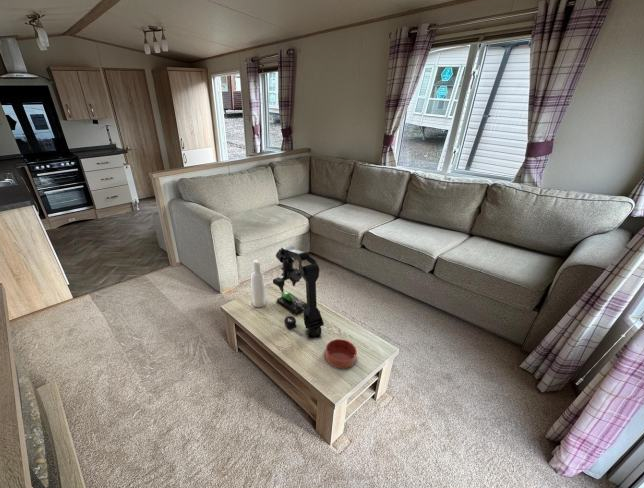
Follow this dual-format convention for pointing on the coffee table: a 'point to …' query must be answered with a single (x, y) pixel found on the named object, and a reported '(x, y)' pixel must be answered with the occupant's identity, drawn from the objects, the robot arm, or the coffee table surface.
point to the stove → (291, 305)
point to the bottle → (258, 285)
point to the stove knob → (298, 303)
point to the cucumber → (287, 296)
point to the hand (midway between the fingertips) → (288, 289)
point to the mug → (290, 322)
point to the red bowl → (341, 353)
